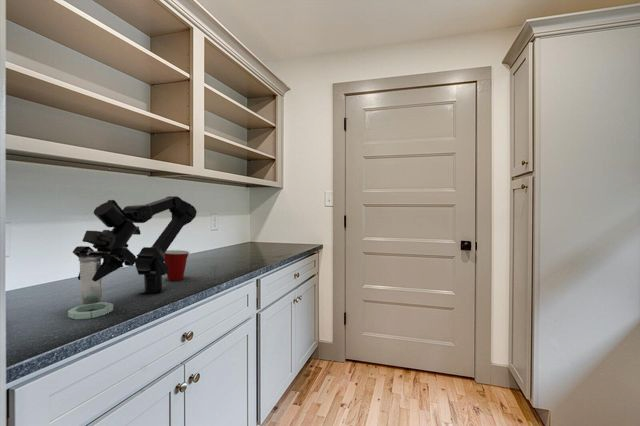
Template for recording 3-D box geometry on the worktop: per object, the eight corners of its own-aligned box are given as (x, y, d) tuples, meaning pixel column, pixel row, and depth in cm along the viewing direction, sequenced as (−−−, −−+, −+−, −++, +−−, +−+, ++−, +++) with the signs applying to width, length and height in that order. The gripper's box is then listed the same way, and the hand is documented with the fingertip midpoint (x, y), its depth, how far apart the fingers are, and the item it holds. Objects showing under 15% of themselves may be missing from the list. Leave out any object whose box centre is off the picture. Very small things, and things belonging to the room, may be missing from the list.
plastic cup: (193, 279, 134) (193, 250, 134) (165, 283, 127) (164, 253, 127) (185, 275, 143) (185, 248, 142) (158, 278, 136) (158, 250, 136)
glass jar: (85, 299, 96) (84, 255, 95) (106, 298, 97) (104, 254, 97) (76, 305, 91) (74, 258, 90) (98, 303, 92) (96, 258, 91)
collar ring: (80, 308, 98) (80, 303, 98) (117, 306, 100) (117, 301, 100) (61, 320, 88) (61, 314, 88) (103, 317, 90) (103, 312, 90)
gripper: (77, 219, 99) (39, 262, 89) (127, 220, 94) (92, 265, 84) (102, 242, 107) (69, 283, 97) (148, 244, 102) (119, 288, 92)
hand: (86, 280), depth 92 cm, fingers closed on glass jar, 5 cm apart
